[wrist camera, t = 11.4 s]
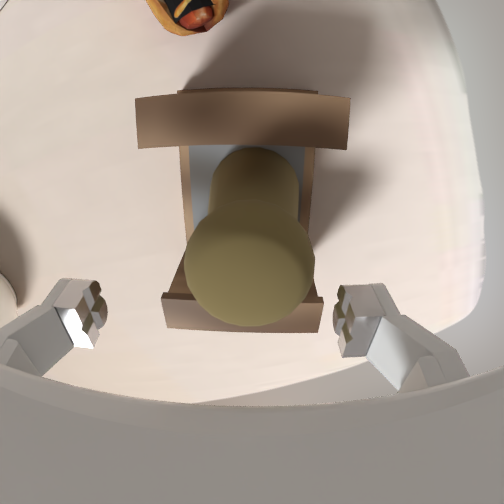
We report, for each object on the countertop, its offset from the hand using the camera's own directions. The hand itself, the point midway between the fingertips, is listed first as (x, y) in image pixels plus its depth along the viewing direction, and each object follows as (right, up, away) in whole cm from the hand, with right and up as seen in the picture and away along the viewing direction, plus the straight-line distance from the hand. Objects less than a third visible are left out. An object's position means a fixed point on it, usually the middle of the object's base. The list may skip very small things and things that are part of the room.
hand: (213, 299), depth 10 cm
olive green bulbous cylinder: (+1, +6, +11) cm, 12 cm away
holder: (+1, +6, +12) cm, 13 cm away
